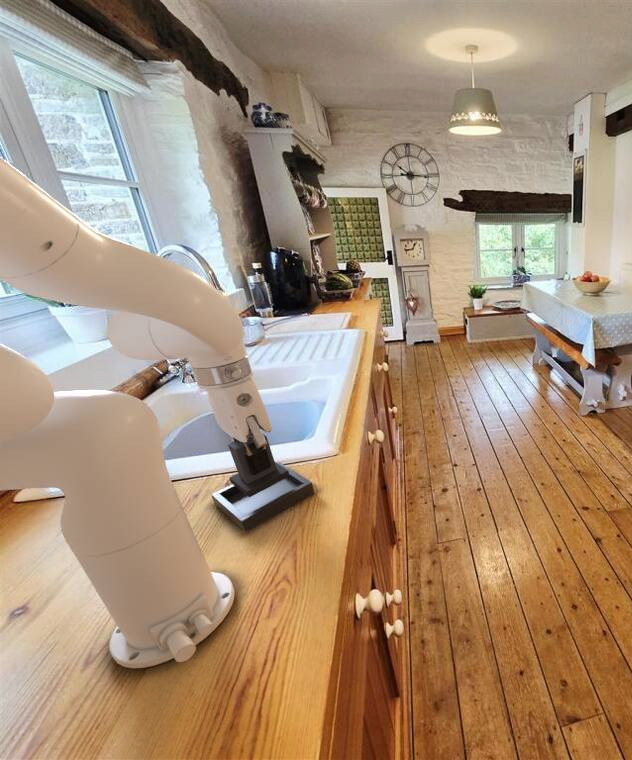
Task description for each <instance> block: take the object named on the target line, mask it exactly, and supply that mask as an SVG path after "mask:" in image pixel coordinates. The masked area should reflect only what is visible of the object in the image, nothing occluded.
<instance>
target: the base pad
mask: <svg viewBox="0 0 632 760" xmlns="http://www.w3.org/2000/svg"><path fill="white" fill-rule="evenodd" d="M276 463H277V464H279V465H280V466H282V467H284V468H285V469H287V470H288V471H289V474H290V476H289V477H287V478H285V479H283V480H281V481H280V482H278V483H276V484H274V485H272V486H270V487H268V488H266V489H264V490H263V491H261V492H259V493H257V494H255V495H253V496H251V497H248V496H247V495H246V494H244V493H243V492H242V491H241V490H239V489H238V488H237V487H236V486H234V485H233V484H232V483H231V484H230V485H228V486H226V487H223V488H222V489H220V490H218V491H216V492H213V493H211V494H210V495H211V498H212V501H213V504H214V505H215V506H216V507H217V508H218V509H219V510H220V511H221V512H222V513H223V514H225V515H226V516H227V518H229V519H230V520H231V521H232V522H234V524H236V525H237V526H238V527H239V528H240V529H241V530H242V531H244V533H247V532H249V531H251V530H252V529H254V528H256V527H257V526H259V525H261V524H263V523H264V522H266V521H268V520H269V519H271V518H274V516H275V517H276V516H277V515H279V514H280V513H282V512H283V511H286V510H287V509H289V508H291V507H292V506H294V505H295V504H297V503H299V502H301V501H303V500H304V499H306V498H308V497H309V496H311V495H313V494H315V490H314V485H313V482H312V481H311V480H309V479H307V478H305V477H304V476H303V475H301V474H299V473H297V472H296V471H295V470H293V469H291V468H290V467H288V466H287V465H285V464H283V463H282V462H281V461H277V462H276Z"/></svg>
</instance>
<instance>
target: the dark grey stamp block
mask: <svg viewBox="0 0 632 760" xmlns="http://www.w3.org/2000/svg"><path fill="white" fill-rule="evenodd" d="M262 434H263V436H264V438H265V439H266V441H267V445H265V446H266V451H267V454H268V457H269V460H270V463H271V467H270V468H268V469H266V470H264V471H262V472H260V473H258V474H256V475H252V474H251V473H250V470H249V467H248V464H247V462H246V459H245V455H247V454H246V452H245V449H244V447H243V444H242V442H240V441H238V440H237V441H235V442H232V441H231V442H230V443H227V446H228V450H229V452H230V455H231V457H232V460H233V463H234V465H235V469H236V471H237V473H236V474H234V475H231V476H229V477H228V478H229V481H230V483H231V485H232V484H233V485H234V486H236V487H237V488H238V489H239V490H241V491H242V492H243V493H244V494H246V495H247V496H248V497H251V496H253V495H255V494H257V493H259V492H261V491H263V490H264V489H266V488H268V487H270V486H272V485H274V484H276V483H278V482H280V481H281V480H283V479H285V478H287V477H289V476H290V474H289V471H288V470H287V469H285V468H284V467H282V466H280V465H279V464H277V462H276V461H275V459H274V455H273V452H272V449H271V446H270V443H269V440H268V437H267V435H265V434H264V433H262ZM246 437H247V436H246ZM253 442H254V440H252V441H249V442H248V443H249V446H250V444H251V443H253Z"/></svg>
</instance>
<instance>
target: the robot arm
mask: <svg viewBox="0 0 632 760" xmlns="http://www.w3.org/2000/svg"><path fill="white" fill-rule="evenodd" d="M0 281H1V282H3V283H5V284H7V285H8V286H10V287H12V288H14V289H16V290H18V291H20V292H21V293H23V294H27V295H30V296H33V297H36V298H40V299H44V300H47V301H52V302H58V303H62V304H67V305H72V306H77V307H78V306H79V307H84V308H92V309H101V310H110V311H115V313H114V314H113V315H112V317H111V318H109V321H108V324H107V327H106V328H107V329H106V333H107V338H108V341H109V342H110V345H111V346H112V347H113V348H114V349H115V350H116V351H117V352H118V353H120V354H121V355H123V356H125V357H127V358H131V359H134V360H139V361H166V360H167V361H168V360H179V359H187V361H188V364H189V366H190V369H191V372H192V375H193V377H194V380H195V382H196V385H197V387H198V388H199V389H205V392H206V395H207V399H208V402H209V405H210V409H211V411H212V413H213V416H214V419H215V421H216V423H217V425H218V427H219V428H220V429H221V430H222V431H223V432H225V433H226V434H228V435H229V437H230V441H231V443H232V442H235V441H237V440H238V441H240V442H242V444H243V447H244V449H245V452H246V454H247V455H245V459H246V462H247V464H248V467H249V470H250V473H251V474H252V475H256V474H258V473H260V472H262V471H264V470H266V469H268V468H270V467H271V463H270V460H269V457H268V454H267V451H266V446H265V445H267V441H266V439H265V438H264V436H263V434H264V433H263V432H265V433H271V432H272V431H273V426H272V423H271V420H270V418H269V415H268V412H267V409H266V407H265V404H264V402H263V399H262V396H261V394H260V392H259V390H258V386H257V385H256V384H255V382H254V379H253V378H252V377H253V375H254V371H253V368H252V365H251V362H250V359H249V356H248V352H247V349H246V345H245V342H244V334H245V333H244V324H243V321H242V318H241V317H240V315H239V313H238V311H237V310H236V308H235V307H234V305H233V304H232V300H231V298H230V297H229V296H228V294H227V293H226V292H225V291H223V290H221V289H216V287H214V286H213V285H212V284H211V283H210V282H208V281H207V280H206V279H204V278H203V277H202V276H200V275H199V274H197V273H196V272H194V271H192V270H191V269H188V268H186V267H184V266H183V265H180V264H178V263H177V262H175V261H171V260H169V259H167V258H164V257H162V256H159V255H157V254H154V253H153V252H149V251H147V250H144V249H142V248H140V247H138V246H136V245H133V244H130V243H129V242H128V243H127V242H124V241H122V240H119V239H116V238H113V237H111V236H108V235H105V234H103V233H102V232H100V231H98V230H96V229H94V228H93V227H91V226H90V225H89V224H88V223H86V222H85V221H84V220H83V219H81V218H80V217H79V216H78V215H76V214H75V213H74V212H73V211H71V210H70V209H68V208H66V206H64V205H63V204H62V203H60V202H59V201H58V200H56V199H55V198H54V197H53V196H51V195H50V194H48V193H47V192H46V191H45V190H43V189H42V188H41V187H40V186H39V185H37V184H36V183H34V182H33V181H32V180H30V179H29V178H28V177H27V176H26V175H25V174H23V173H22V172H21V171H20V170H18V168H16V167H15V166H13V165H12V164H10V163H9V161H7V160H5V159H4V158H3V157H2V156H0ZM262 431H263V432H262ZM246 436H247V437H246ZM252 440H254V442H253V443H251V444H250V446H249V443H248V442H249V441H252ZM172 481H173V480H172V479H171V477H170V474H169V470H168V467H167V462H166V459H165V453H164V447H163V441H162V431H161V426H160V423H159V419H158V417H157V415H156V413H155V411H154V410H153V409H152V407H151V406H149V404H148V403H146V402H145V401H143V400H141V399H140V398H138V397H136V396H133V395H131V394H128V393H124V392H120V391H114V390H113V391H112V390H101V389H86V390H68V391H67V390H66V391H55V389H54V385H53V382H52V380H51V379H50V378H49V376H48V375H47V373H46V372H45V371H44V370H43V369H42V368H40V366H39V365H38V364H36V363H35V362H33V361H32V360H31V359H29V358H27V356H25V355H23V354H22V353H20V352H18V351H17V350H15V349H12V348H11V347H8V346H6V345H4V344H2V343H0V491H13V490H29V489H58V490H60V491H61V492H62V493H63V495H64V503H63V508H62V511H61V514H60V523H59V525H60V531H61V533H62V537H63V539H64V540H65V543H67V545H68V547H69V549H70V551H71V552H72V553H73V555H74V557H75V558H76V560H77V561H78V563H79V565H80V566H81V568H82V570H83V571H84V573H85V575H86V576H87V578H88V580H89V582H90V583H91V585H92V586H93V588H94V589H95V592H96V593H97V595H98V596H99V598H100V599H101V602H102V603H103V605H104V606H105V608H106V609H107V612H108V614H109V615H110V616H111V618H112V620H113V621H114V623H115V625H116V626H115V628H114V630H113V632H112V633H111V636H110V639H109V643H108V647H109V653H110V655H111V657H112V658H113V660H114V661H115V663H116V664H118V665H119V666H121V667H123V668H127V669H144V668H149V667H153V666H157V665H160V664H163V663H166V662H169V661H170V660H173V659H174V660H175V662H176V663H183V662H186V661H188V660H189V659H191V658H192V657H193V656H194V654H195V652H196V651H197V645H199V643H201V642H202V641H204V640H205V639H206V638H207V637H209V635H210V634H212V633H213V632H214V631H215V630H216V629H217V628H218V626H219V625H220V624H221V623H222V622H223V621H224V619H225V618H226V617H227V615H228V614H229V612H230V610H231V608H232V606H233V604H234V600H235V588H234V585H233V582H232V581H231V579H230V578H229V577H228V576H227V575H226V574H223V573H220V572H216V571H211V569H210V567H209V564H208V563H207V560H206V558H205V556H204V553H203V550H202V548H201V546H200V544H199V541H198V540H197V537H196V535H195V533H194V530H193V528H192V525H191V523H190V521H189V518H188V516H187V514H186V512H185V510H184V507H183V505H182V503H181V501H180V499H179V496H178V494H177V492H176V489H175V486H174V485H173V482H172Z"/></svg>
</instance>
